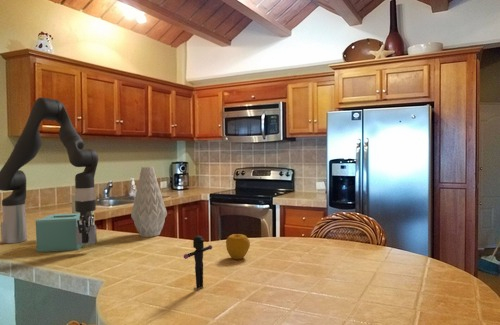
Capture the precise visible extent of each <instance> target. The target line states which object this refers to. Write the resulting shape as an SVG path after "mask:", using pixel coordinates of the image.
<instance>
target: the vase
mask: <svg viewBox="0 0 500 325" xmlns="http://www.w3.org/2000/svg"><path fill="white" fill-rule="evenodd" d="M130 215H131V216H130V218H131V219H132V220H133V222H134V223H133V224H134V226H135V228H136V230H137V232H138V233H139V235H140V237H143V238H151V237H152V238H153V237H157V236H159V235H161V232H162V230H163V228H164V225H165V218H166V217H167V216H168V212H167V208H166V206H165V203H164V198H163V195H162V191H161V189H160V184H159V183H158V179H157V175H156V171H155V168H154V166H142V167H141V168H140V173H139V179H138V183H137V187H136V191H135V196H134V201H133V206H132V211H131V213H130Z"/></svg>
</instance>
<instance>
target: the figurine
mask: <svg viewBox="0 0 500 325" xmlns="http://www.w3.org/2000/svg"><path fill="white" fill-rule="evenodd" d="M192 242H193V243H192V244H193V246H192V247H193V249H195V250H194V251H192V252H189V253H184V255H183V259H184V260H187V259H188V258H191V257H193V258H194V261H195V264H194V271H195V272H194V273H195V284H196V285H195V286H196V287H194V288H193V290H195V291H200V290H201V289H204V262H203V260H204V252H206V251H209V250H212V249H213V246H212V245H211V244H209V245H208V246H204V243H205V239H204V238H203V236H202V235H195V236H194V237H193V241H192Z"/></svg>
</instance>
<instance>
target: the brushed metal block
mask: <svg viewBox="0 0 500 325" xmlns="http://www.w3.org/2000/svg"><path fill="white" fill-rule="evenodd" d="M83 230H84V229H83ZM97 233H98V232H97V224H94V225H90V227H89V228H88V243H82V234H81V233H79V229H78V226H77V227H76V245H83V244H85V245H95V244H97V241H98V238H97V237H98V236H97Z"/></svg>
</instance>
